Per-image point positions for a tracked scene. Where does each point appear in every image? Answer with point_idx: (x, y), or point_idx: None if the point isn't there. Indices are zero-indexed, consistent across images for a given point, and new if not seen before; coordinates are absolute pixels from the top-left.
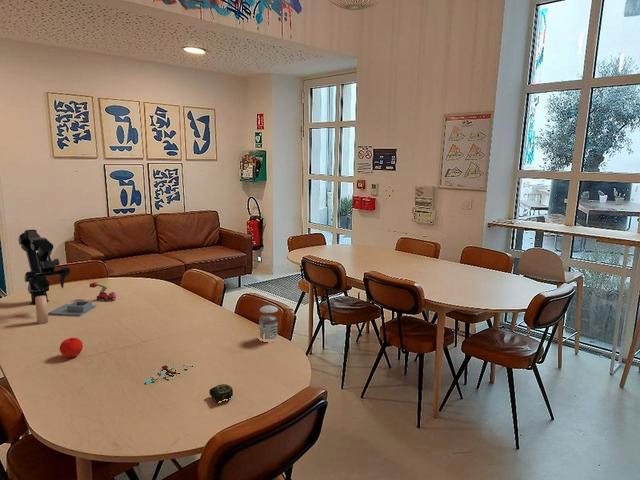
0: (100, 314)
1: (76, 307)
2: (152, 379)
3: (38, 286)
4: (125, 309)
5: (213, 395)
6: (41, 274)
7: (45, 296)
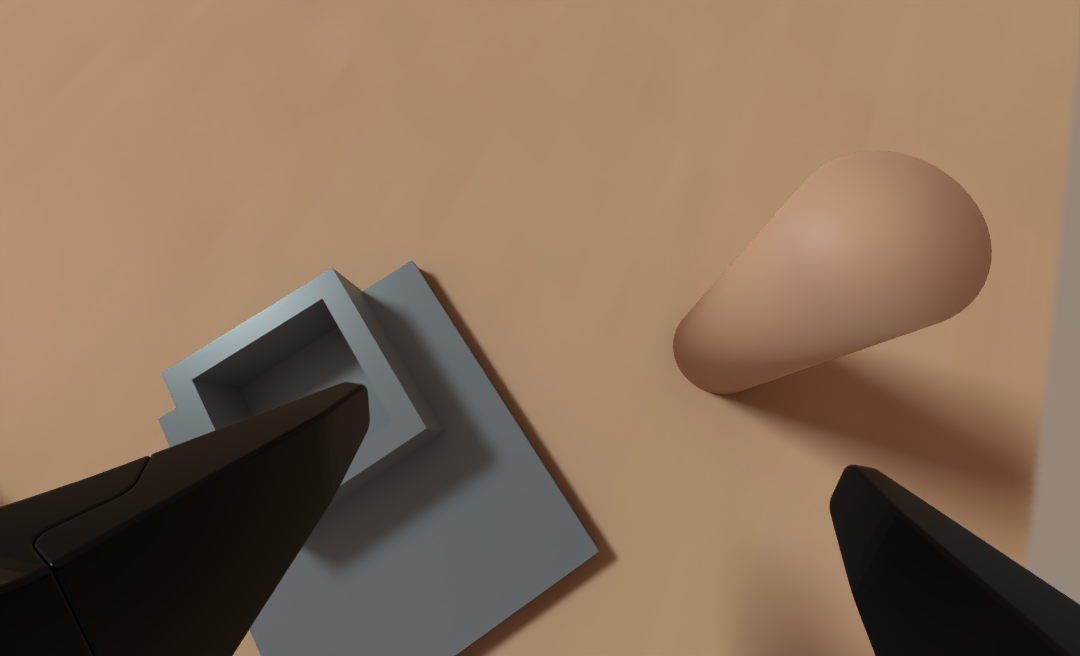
0: (288, 189)
1: (374, 335)
2: None
3: (1008, 561)
4: (92, 160)
5: None
6: None
7: (803, 213)
